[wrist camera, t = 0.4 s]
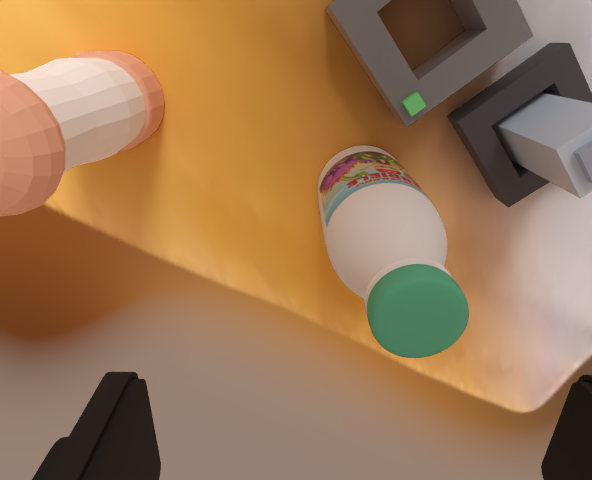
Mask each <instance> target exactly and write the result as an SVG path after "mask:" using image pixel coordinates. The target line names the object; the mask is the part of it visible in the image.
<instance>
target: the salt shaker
mask: <svg viewBox="0 0 592 480" xmlns="http://www.w3.org/2000/svg"><path fill="white" fill-rule="evenodd" d="M164 105H165V103H164V97H163V92H162V88H161V86H160V84H159V82H158V80H157V78H156V76H155V74H154V73H153V72H152V71H151V70H150V69H149V68H148V67H147V66H146V65H145V63H143V62H142V61H140V60H139V59H137V58H135V57H134V56H132V55H131V54H128V53H124V52H120V51H116V50H110V51H92V52H81V53H79V54H77V55H75V56H73V57H71V58H62V59H55V60H53V61H51V62H49V63H46V64H44V65H42V66H40V67H37V68H35V69H33V70H31V71H29V72H26V73H19V74H11V75H9V74H7V73H5V72H4V71H2V70H0V216H8V215H16V214H21V213H24V212H27V211H29V210H32V209H34V208H37V207H39V206H41V205H42V204H43V203H44V202H45V201H46V200H47V199H48V198H49V197H50V196H51V195H52V194H53V193H54V192H55V191H56V189H57V187H58V185H59V182H60V180H61V177H62V175H63V172H65V171H67V170H69V169H71V168H73V167H74V166H78V165H82V164H87V163H91V162H96V161H100V160H103V159H105V158H107V157H110V156H112V155H114V154H116V153H117V152H124V151H126V150H128V149H131V148H133V147H135V146H137V145H138V144H140V143H141V142H143V141H144V140H146V139H147V138H149V137H150V136H151V135H152V134H153V133H154V132H155V131H156V130H157V129H158V127H159V125H160V123H161V121H162V119H163V114H164Z"/></svg>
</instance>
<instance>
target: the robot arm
mask: <svg viewBox="0 0 592 480" xmlns="http://www.w3.org/2000/svg"><path fill="white" fill-rule="evenodd" d="M541 468H542V475H543V478H544V480H592V375H583V376H581V377H580V378H579V380H578V381H577V382H575V383H573V384H572V386H571V389H570V391H569V394H568V397H567V399H566V402H565V404H564V407H563V409H562V412H561V415H560V417H559V420H558V423H557V425H556V428H555V431H554V433H553V436H552V438H551V441H550V444H549V446H548V449H547V451H546V454H545V457H544V459H543V462H542V466H541ZM160 469H161V462H160V456H159V451H158V445H157V440H156V434H155V429H154V424H153V418H152V413H151V407H150V402H149V396H148V391H147V386H146V381H145V380H144V379H138V375H137V374H136V373H135V372H108V373H106V374H105V376H104V377H103V379H102V380H101V382H100V384H99V385H98V387H97V389H96V391H95V392H94V394H93V396H92V398H91V399H90V401H89V403H88V404H87V407H86V408H85V410H84V412H83V413H82V415H81V417H80V418H79V420H78V422H77V423H76V425H75V427H74V429H73V430H72V432H71V434H70V436H69V437H63V438H60V439H59V440H58V441H57V442H56V443H55V444H54V445H53V447H52V448H51V449H50V451H49V453H48V454H47V456H46V458H45V459H44V461H43V462H42V464H41V466H40V467H39V469H38V471H37V472H36V474H35V476H34V477H33V479H32V480H159V476H160Z"/></svg>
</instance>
